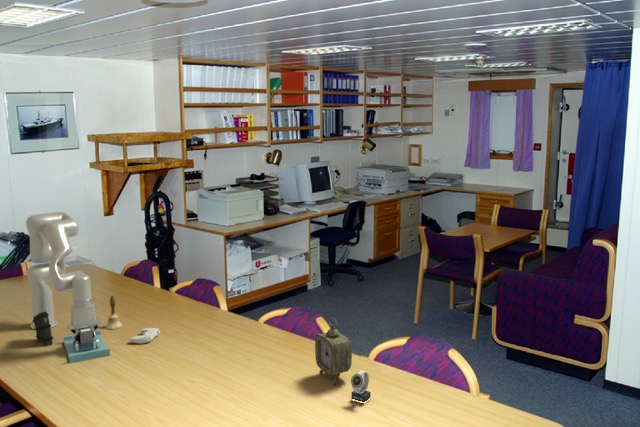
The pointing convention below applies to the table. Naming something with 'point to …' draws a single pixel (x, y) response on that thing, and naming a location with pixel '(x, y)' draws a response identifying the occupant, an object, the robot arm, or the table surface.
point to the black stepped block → (43, 328)
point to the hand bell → (113, 317)
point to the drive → (86, 338)
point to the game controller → (145, 335)
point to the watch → (360, 386)
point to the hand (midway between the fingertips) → (85, 340)
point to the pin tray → (79, 355)
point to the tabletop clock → (333, 352)
